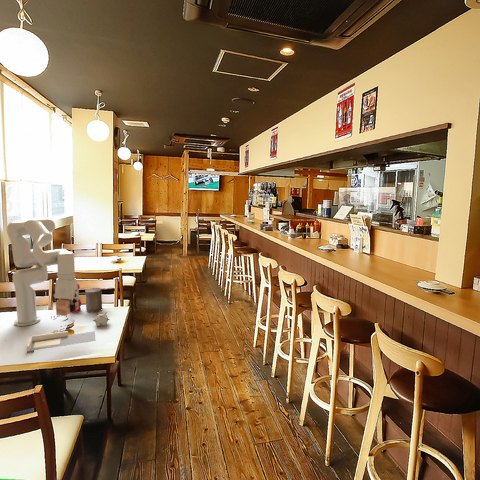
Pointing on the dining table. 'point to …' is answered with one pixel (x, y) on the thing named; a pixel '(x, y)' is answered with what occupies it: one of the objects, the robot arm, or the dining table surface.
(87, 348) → the dining table surface
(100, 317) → the grey spiky ball
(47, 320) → the dining table surface
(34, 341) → the board
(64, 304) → the block
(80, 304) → the pepper mill
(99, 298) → the pillar candle
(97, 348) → the dining table surface
